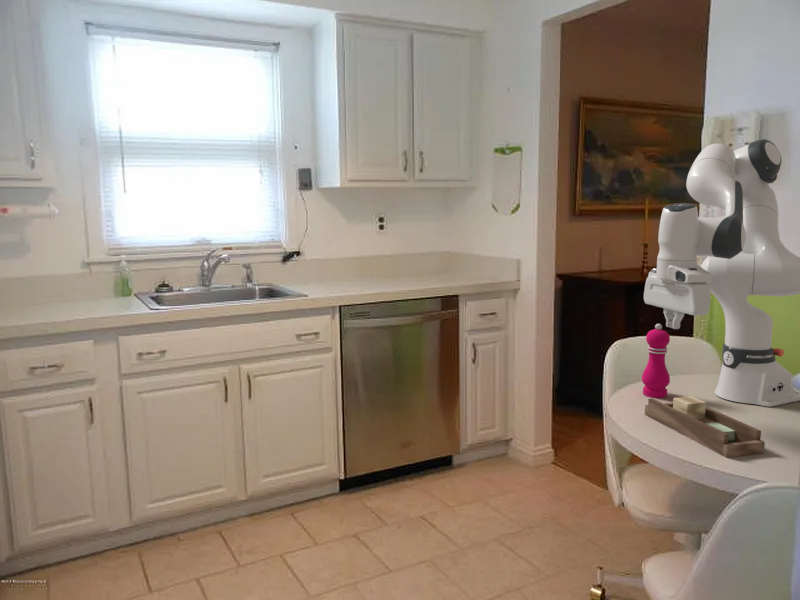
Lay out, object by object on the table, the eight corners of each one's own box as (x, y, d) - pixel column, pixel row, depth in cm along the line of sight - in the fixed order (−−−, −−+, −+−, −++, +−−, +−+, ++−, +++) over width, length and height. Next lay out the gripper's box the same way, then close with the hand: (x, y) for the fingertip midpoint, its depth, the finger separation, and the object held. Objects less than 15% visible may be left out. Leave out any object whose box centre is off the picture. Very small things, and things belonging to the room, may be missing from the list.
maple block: (690, 412, 158) (691, 396, 157) (704, 418, 153) (705, 402, 153) (672, 413, 157) (673, 397, 156) (686, 420, 152) (687, 404, 151)
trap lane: (677, 411, 166) (678, 394, 166) (763, 452, 139) (765, 432, 138) (644, 414, 164) (645, 397, 163) (726, 457, 137) (727, 437, 136)
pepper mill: (637, 390, 184) (640, 321, 181) (663, 390, 184) (667, 321, 181) (646, 398, 177) (649, 326, 174) (673, 398, 177) (677, 326, 174)
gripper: (638, 267, 166) (636, 321, 168) (693, 276, 147) (689, 336, 149) (660, 266, 168) (657, 319, 170) (717, 275, 148) (713, 335, 150)
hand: (672, 327), depth 159 cm, fingers closed
